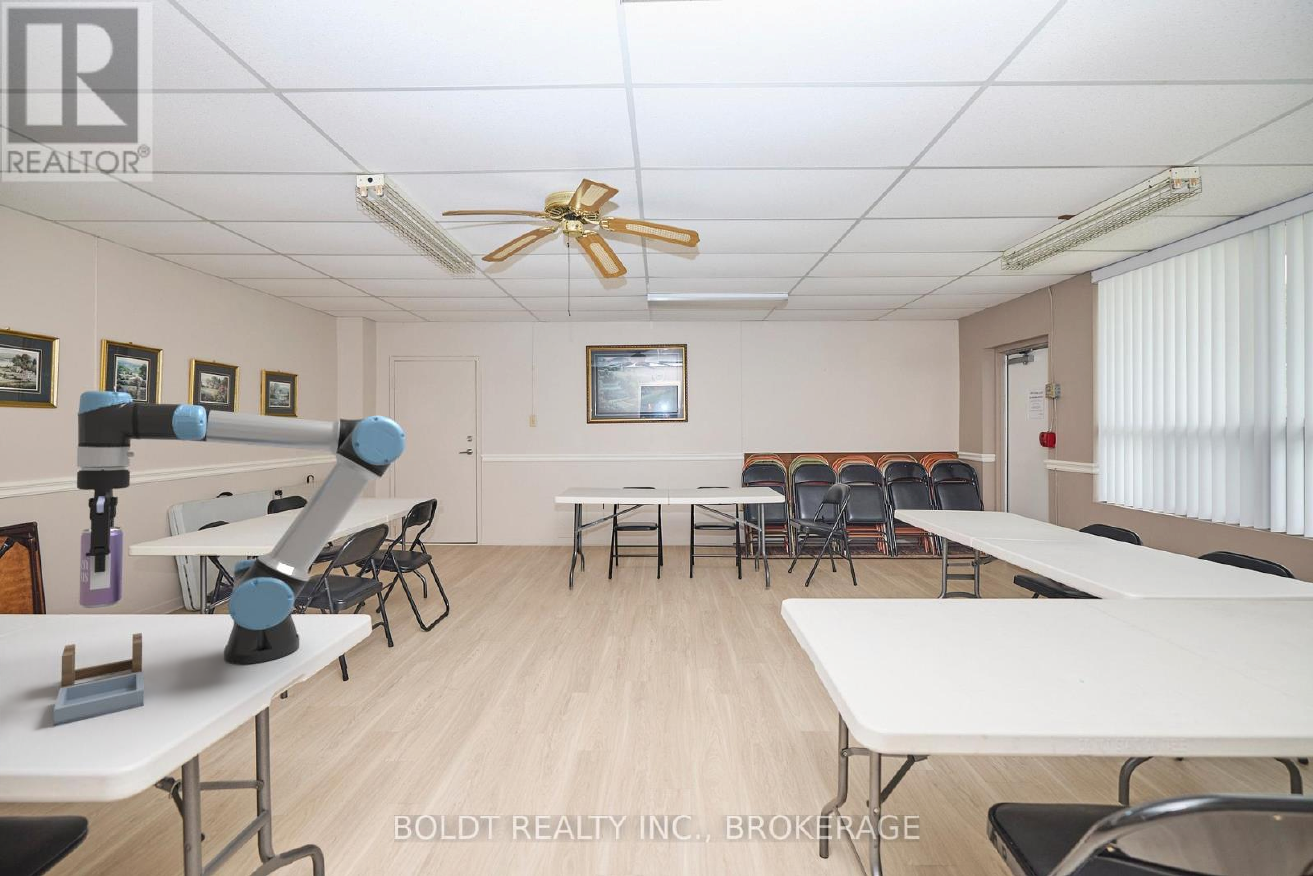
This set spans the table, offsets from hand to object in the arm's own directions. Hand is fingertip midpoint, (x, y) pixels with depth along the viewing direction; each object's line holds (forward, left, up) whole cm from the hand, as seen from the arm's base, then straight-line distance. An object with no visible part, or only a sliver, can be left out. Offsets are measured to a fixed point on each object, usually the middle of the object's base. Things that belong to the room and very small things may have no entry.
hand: (101, 584), depth 112 cm
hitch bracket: (+10, -7, -23) cm, 26 cm away
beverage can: (0, 0, -4) cm, 4 cm away
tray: (-2, +1, -23) cm, 23 cm away
